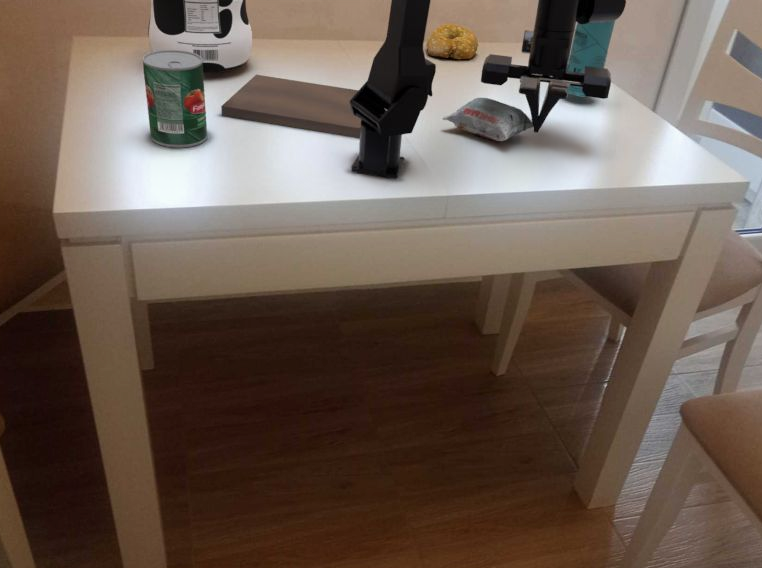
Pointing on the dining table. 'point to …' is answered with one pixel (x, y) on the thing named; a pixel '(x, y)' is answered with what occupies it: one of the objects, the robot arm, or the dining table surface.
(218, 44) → the milk container
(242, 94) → the bread board
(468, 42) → the bagel
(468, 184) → the dining table surface
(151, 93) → the canned tomato
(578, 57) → the beverage bottle
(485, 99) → the packaged food
